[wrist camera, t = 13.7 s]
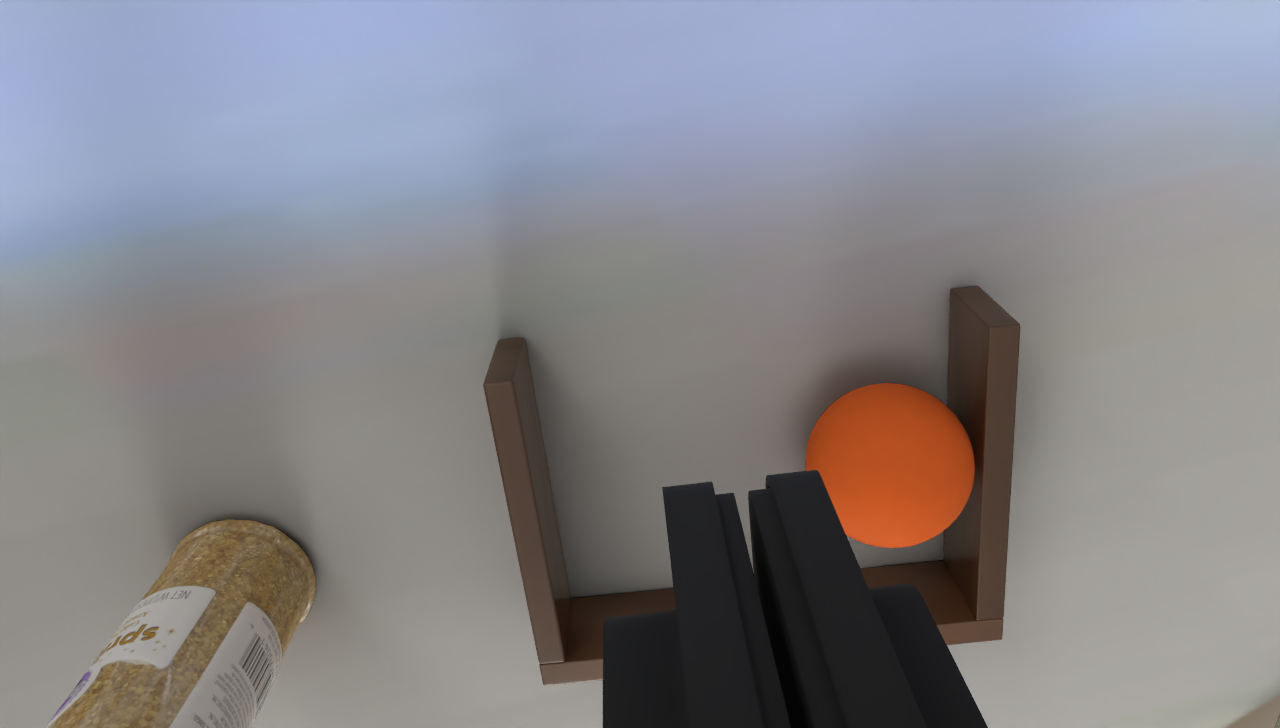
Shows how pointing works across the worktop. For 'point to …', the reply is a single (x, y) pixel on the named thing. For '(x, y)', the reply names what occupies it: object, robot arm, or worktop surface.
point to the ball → (892, 464)
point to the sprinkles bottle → (200, 635)
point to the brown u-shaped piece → (952, 588)
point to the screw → (1278, 723)
